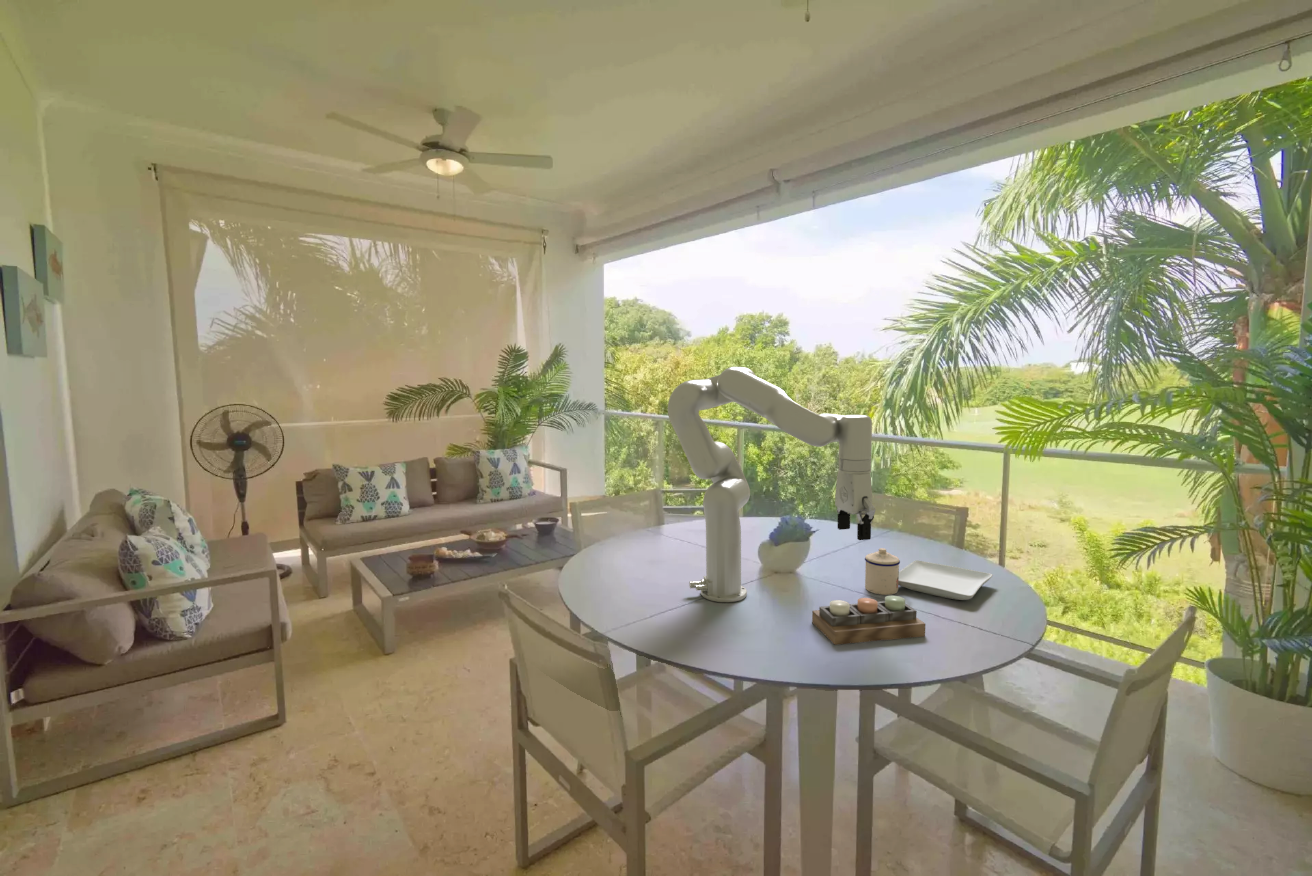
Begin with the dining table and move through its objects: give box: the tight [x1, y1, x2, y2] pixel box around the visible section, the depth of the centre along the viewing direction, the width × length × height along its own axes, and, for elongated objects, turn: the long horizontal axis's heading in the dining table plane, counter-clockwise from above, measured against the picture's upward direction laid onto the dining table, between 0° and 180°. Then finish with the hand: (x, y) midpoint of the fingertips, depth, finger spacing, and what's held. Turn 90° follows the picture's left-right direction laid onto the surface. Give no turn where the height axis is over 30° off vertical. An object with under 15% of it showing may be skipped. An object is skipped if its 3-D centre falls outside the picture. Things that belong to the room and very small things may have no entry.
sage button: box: [884, 595, 906, 612], centre depth 139 cm, size 4×4×2 cm
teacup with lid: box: [864, 547, 901, 596], centre depth 164 cm, size 12×9×12 cm
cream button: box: [829, 599, 851, 616], centre depth 136 cm, size 4×4×2 cm
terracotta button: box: [857, 597, 879, 614], centre depth 138 cm, size 4×4×2 cm
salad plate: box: [898, 560, 994, 601], centre depth 164 cm, size 21×21×3 cm
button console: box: [811, 600, 926, 646], centre depth 138 cm, size 22×12×5 cm, turn 99°
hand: (853, 534), depth 144 cm, fingers open, 9 cm apart
